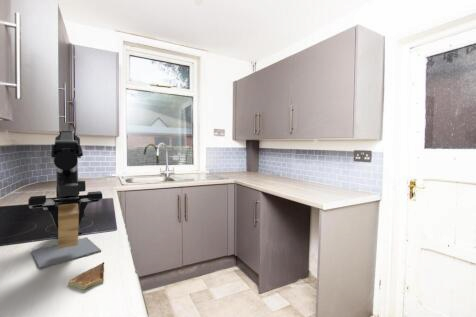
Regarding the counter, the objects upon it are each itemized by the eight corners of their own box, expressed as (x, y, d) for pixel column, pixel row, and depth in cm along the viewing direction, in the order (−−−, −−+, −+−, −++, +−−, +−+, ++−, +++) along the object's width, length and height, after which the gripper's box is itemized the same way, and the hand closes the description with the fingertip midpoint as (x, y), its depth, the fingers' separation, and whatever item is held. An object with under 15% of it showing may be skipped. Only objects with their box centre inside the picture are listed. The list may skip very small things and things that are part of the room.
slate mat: (31, 251, 80) (31, 250, 80) (86, 238, 91) (86, 237, 91) (39, 269, 69) (39, 267, 69) (101, 251, 80) (101, 250, 80)
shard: (104, 266, 72) (103, 260, 71) (123, 271, 69) (123, 265, 69) (66, 286, 61) (66, 279, 61) (88, 293, 59) (88, 286, 59)
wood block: (58, 237, 79) (58, 205, 74) (76, 234, 82) (77, 203, 77) (58, 248, 75) (58, 215, 70) (77, 245, 78) (78, 212, 73)
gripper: (27, 173, 67) (26, 231, 63) (103, 170, 78) (106, 219, 74) (30, 181, 75) (29, 233, 71) (98, 178, 86) (101, 222, 83)
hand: (68, 227), depth 75 cm, fingers closed on wood block, 5 cm apart
